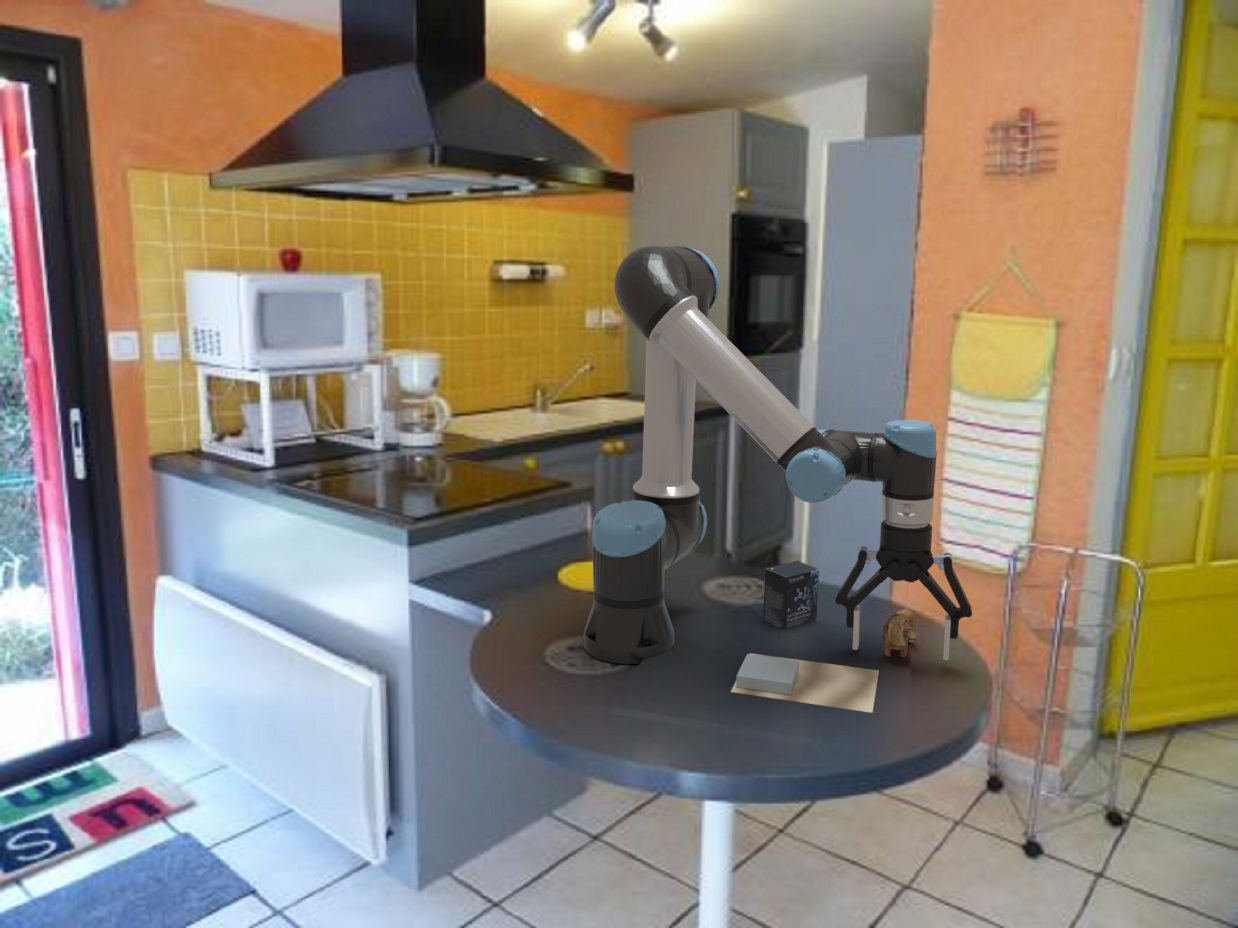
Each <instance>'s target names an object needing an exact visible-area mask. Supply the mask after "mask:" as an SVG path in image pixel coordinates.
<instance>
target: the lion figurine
mask: <svg viewBox="0 0 1238 928" xmlns="http://www.w3.org/2000/svg"><path fill="white" fill-rule="evenodd" d="M915 617H916V616H915V615H914V613H913V612H912V611H911V610H909V609H907V608H904V609H900V610H898V611H896V612H895V614H894V615H891V617H889V618H888V619H887V621H886V622H885V624H884V625H883V627H882V628H883V629H882V641H883V648H884V650H883V651H884V656H885V657H892V656H891V649H892V650H895V651H899V650H900V654H899V658H906V657H907V652H908V648H909V644H908V643H909V642H910V643H911V645H912V646H916V645H917V642H916V638H917V637H918V635H919V634H920V633H919V632H918V630H916V618H915Z"/></svg>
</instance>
